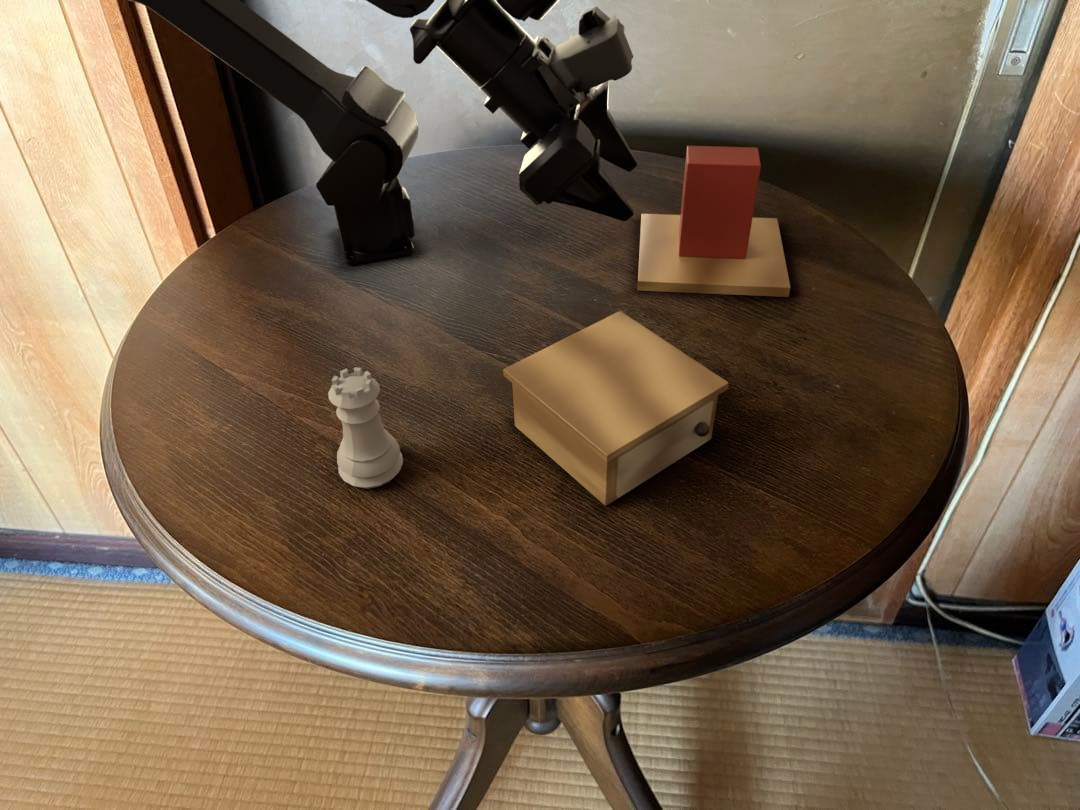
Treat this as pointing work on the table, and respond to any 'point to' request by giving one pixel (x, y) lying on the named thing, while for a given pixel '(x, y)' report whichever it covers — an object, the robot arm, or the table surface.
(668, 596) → the table surface
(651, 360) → the cabinet
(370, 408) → the rook chess piece
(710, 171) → the tall red upright block
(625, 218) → the robot arm
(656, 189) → the table surface
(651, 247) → the board
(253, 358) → the table surface
